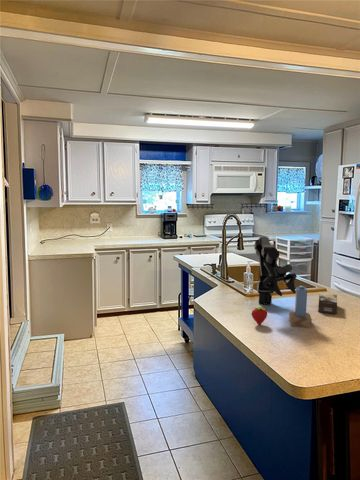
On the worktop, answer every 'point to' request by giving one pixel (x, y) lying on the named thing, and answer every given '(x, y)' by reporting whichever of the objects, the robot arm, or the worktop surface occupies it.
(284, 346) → the worktop surface
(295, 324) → the walnut base
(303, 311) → the blue-grey tall block
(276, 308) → the worktop surface
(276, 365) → the worktop surface
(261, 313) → the strawberry
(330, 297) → the coffee box
